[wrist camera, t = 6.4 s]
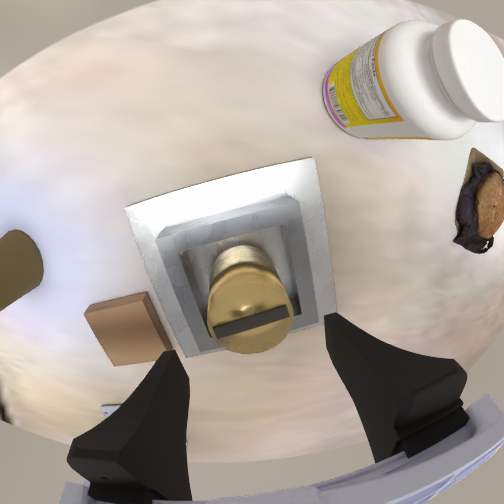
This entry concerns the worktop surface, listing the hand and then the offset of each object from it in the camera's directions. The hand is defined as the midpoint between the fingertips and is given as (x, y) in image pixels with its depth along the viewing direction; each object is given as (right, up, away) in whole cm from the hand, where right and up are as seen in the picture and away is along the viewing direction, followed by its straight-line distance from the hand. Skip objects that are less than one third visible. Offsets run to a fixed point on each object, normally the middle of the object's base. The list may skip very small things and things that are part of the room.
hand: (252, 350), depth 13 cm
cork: (-22, +4, +7) cm, 23 cm away
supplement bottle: (+8, +16, +6) cm, 19 cm away
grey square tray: (-1, +3, +9) cm, 10 cm away
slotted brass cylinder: (-1, +3, +9) cm, 9 cm away
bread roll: (+24, +10, +10) cm, 28 cm away
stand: (-11, -2, +10) cm, 15 cm away
